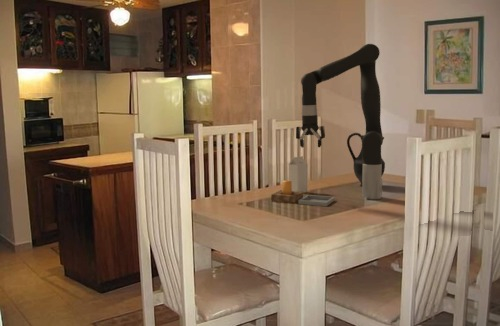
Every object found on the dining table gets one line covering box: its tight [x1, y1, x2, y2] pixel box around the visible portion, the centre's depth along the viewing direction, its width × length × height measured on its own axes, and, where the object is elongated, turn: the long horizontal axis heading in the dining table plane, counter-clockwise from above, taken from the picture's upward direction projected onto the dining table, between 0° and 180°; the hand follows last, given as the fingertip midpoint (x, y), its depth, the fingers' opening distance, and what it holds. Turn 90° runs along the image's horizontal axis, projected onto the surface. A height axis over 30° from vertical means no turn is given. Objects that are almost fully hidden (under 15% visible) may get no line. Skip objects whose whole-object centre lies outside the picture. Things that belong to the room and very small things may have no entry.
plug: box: [282, 179, 292, 195], centre depth 247 cm, size 4×4×10 cm
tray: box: [297, 194, 336, 207], centre depth 241 cm, size 14×14×2 cm
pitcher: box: [346, 132, 386, 188], centre depth 281 cm, size 17×21×30 cm
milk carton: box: [288, 155, 308, 193], centre depth 268 cm, size 7×7×19 cm
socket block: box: [270, 189, 304, 204], centre depth 247 cm, size 12×12×4 cm
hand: (310, 147), depth 250 cm, fingers open, 8 cm apart
